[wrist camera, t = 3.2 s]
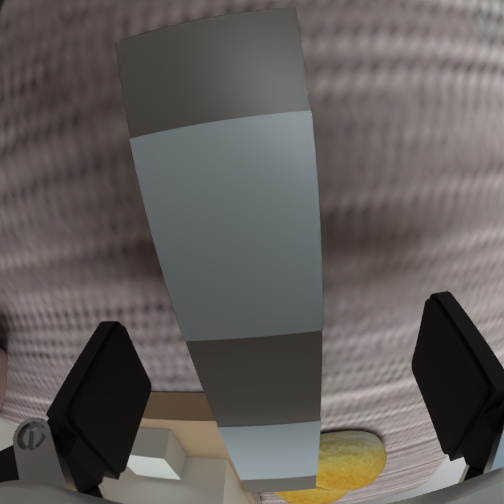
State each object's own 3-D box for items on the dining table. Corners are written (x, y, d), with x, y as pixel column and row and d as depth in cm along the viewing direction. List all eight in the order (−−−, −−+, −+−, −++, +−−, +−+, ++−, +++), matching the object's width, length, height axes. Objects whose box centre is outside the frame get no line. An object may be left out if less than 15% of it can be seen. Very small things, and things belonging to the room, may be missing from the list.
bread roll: (401, 435, 20) (413, 478, 16) (321, 479, 23) (325, 516, 20) (327, 412, 18) (335, 467, 14) (245, 462, 21) (243, 506, 18)
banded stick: (188, 68, 10) (114, 42, 4) (278, 55, 9) (296, 7, 4) (251, 395, 17) (247, 493, 11) (306, 391, 16) (316, 488, 11)
